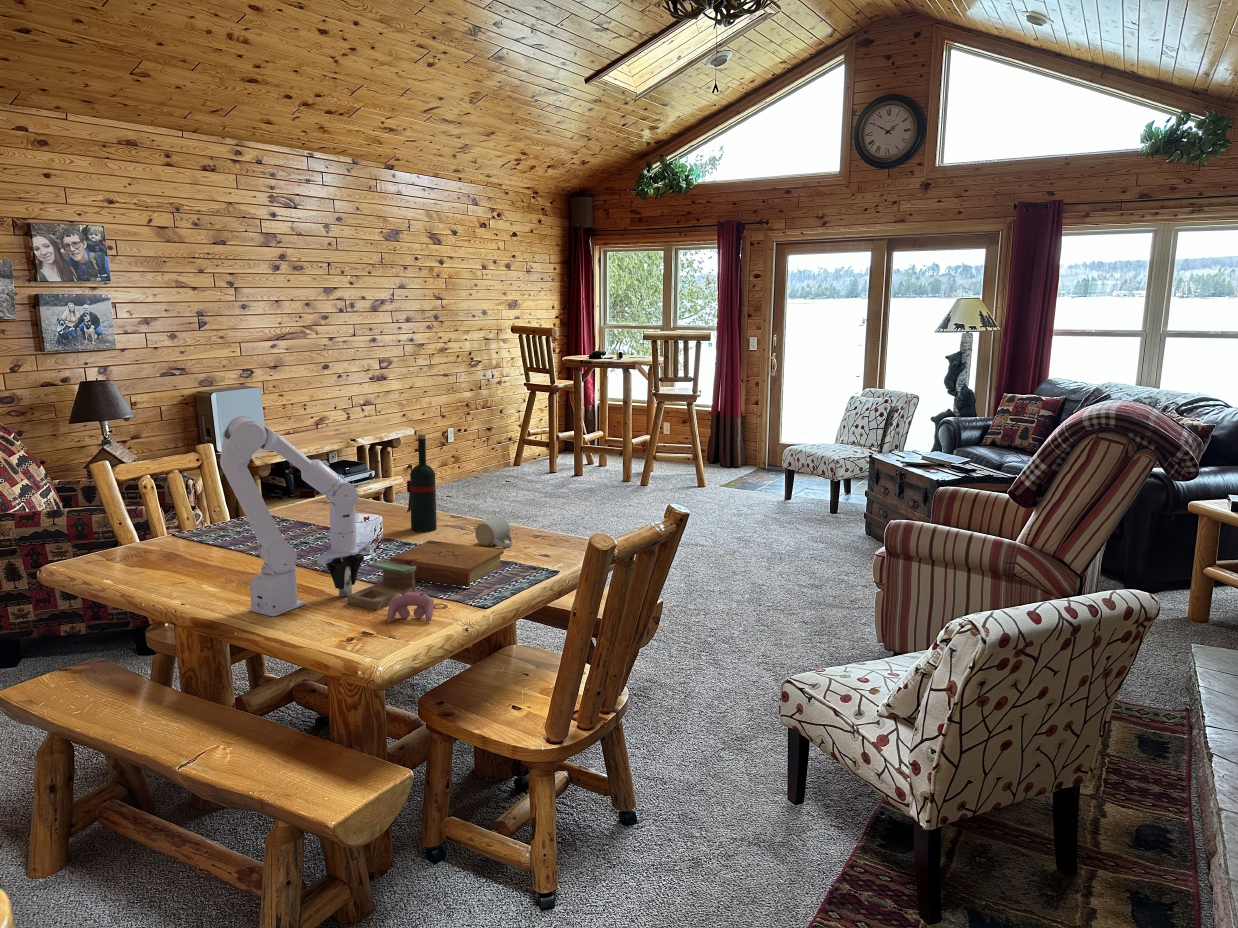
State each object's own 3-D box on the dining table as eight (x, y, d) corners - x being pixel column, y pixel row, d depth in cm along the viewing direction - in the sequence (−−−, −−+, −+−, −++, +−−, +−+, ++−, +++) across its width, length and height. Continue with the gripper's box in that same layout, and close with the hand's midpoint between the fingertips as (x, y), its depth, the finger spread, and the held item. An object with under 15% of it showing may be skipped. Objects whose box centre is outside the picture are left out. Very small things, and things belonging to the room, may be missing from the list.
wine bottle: (415, 523, 261) (413, 431, 255) (441, 527, 257) (440, 434, 251) (399, 529, 254) (397, 434, 248) (426, 533, 250) (424, 437, 244)
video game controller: (434, 624, 181) (436, 593, 183) (430, 622, 177) (432, 590, 179) (389, 624, 181) (392, 592, 183) (384, 622, 177) (387, 590, 179)
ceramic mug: (473, 544, 239) (473, 519, 238) (490, 538, 246) (490, 513, 245) (501, 551, 234) (501, 525, 232) (518, 544, 241) (519, 519, 239)
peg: (345, 596, 192) (344, 568, 191) (335, 594, 193) (334, 566, 192) (354, 593, 195) (353, 565, 193) (345, 591, 196) (344, 563, 195)
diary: (389, 580, 208) (388, 558, 207) (430, 560, 225) (429, 540, 224) (468, 591, 200) (468, 568, 199) (504, 569, 218) (503, 549, 217)
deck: (378, 610, 184) (377, 581, 183) (345, 603, 189) (344, 574, 188) (416, 594, 196) (416, 566, 195) (384, 587, 200) (384, 560, 199)
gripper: (332, 540, 183) (334, 597, 185) (377, 526, 196) (379, 580, 198) (309, 536, 186) (312, 592, 189) (355, 522, 199) (357, 575, 201)
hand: (345, 586), depth 194 cm, fingers closed on peg, 3 cm apart
